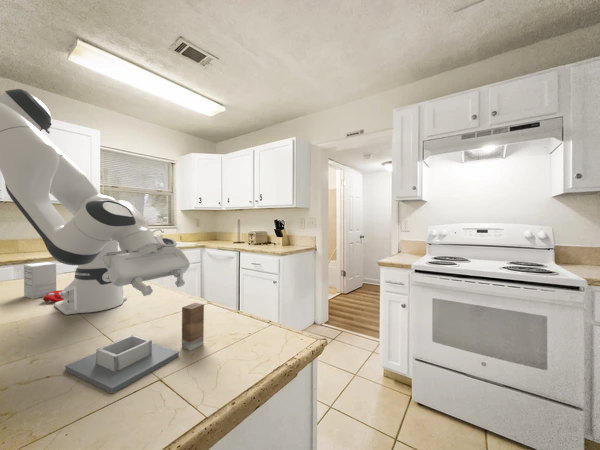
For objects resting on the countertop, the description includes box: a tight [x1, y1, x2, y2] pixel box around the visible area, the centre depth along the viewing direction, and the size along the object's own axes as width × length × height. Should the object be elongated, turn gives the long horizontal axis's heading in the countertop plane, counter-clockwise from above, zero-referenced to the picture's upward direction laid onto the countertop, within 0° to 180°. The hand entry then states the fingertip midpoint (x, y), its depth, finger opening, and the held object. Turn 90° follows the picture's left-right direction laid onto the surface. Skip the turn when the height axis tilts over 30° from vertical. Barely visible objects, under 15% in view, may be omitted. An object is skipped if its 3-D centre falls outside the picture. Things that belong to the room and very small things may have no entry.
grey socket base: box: [64, 334, 180, 394], centre depth 55 cm, size 16×14×4 cm
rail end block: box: [181, 302, 205, 352], centre depth 63 cm, size 3×4×10 cm
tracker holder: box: [42, 289, 64, 303], centre depth 97 cm, size 12×4×10 cm
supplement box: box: [23, 261, 57, 300], centre depth 101 cm, size 7×7×13 cm
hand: (166, 289), depth 66 cm, fingers open, 8 cm apart
